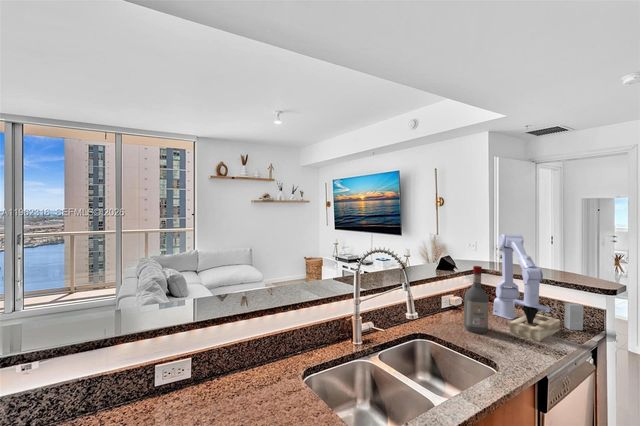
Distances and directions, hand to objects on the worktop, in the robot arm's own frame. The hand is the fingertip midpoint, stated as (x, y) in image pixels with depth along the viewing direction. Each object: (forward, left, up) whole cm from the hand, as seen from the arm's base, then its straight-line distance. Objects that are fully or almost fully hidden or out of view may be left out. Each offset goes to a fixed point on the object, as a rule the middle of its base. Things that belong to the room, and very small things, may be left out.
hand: (530, 323), depth 144 cm
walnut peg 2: (0, +12, -5) cm, 13 cm away
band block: (0, +6, -5) cm, 8 cm away
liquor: (-17, -16, -5) cm, 24 cm away
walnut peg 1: (0, 0, -5) cm, 5 cm away
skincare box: (+9, +26, -5) cm, 28 cm away
